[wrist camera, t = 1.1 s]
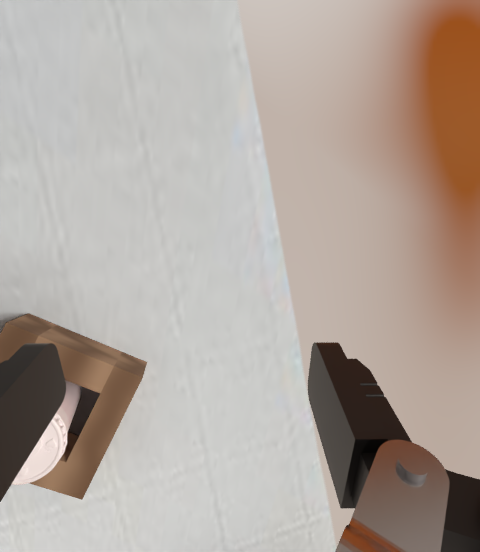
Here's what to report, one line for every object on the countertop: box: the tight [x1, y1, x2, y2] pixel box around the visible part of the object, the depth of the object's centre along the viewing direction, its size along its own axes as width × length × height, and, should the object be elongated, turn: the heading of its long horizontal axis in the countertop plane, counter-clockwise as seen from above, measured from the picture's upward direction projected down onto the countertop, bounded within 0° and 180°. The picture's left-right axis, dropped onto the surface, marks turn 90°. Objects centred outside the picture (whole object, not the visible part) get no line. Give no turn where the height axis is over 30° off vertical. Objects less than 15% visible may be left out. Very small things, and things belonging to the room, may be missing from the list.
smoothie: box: [11, 380, 81, 485], centre depth 28 cm, size 6×6×14 cm
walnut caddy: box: [0, 314, 147, 499], centre depth 33 cm, size 13×13×4 cm
